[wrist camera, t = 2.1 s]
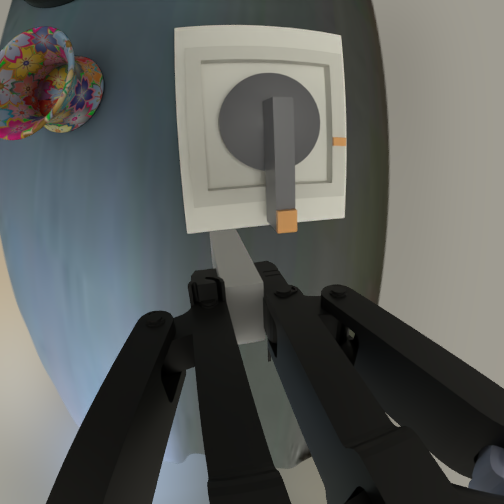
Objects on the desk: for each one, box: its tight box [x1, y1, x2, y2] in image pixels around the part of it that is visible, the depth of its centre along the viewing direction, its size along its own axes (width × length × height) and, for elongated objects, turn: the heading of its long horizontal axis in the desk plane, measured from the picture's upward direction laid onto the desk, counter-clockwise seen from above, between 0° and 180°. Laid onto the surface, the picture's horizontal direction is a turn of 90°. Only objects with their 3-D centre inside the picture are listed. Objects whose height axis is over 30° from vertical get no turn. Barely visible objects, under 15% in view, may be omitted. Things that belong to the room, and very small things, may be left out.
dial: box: [219, 73, 320, 234], centre depth 26 cm, size 15×10×6 cm, turn 2°
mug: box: [0, 26, 104, 140], centre depth 18 cm, size 12×9×11 cm
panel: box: [175, 25, 346, 234], centre depth 27 cm, size 22×18×3 cm
